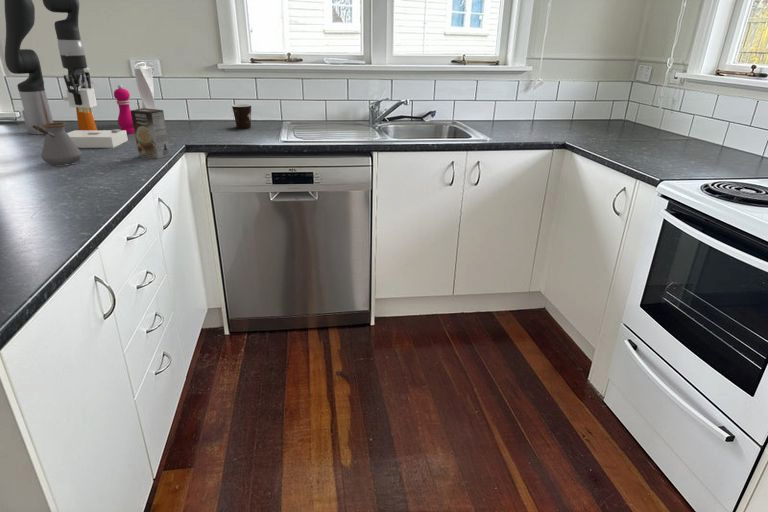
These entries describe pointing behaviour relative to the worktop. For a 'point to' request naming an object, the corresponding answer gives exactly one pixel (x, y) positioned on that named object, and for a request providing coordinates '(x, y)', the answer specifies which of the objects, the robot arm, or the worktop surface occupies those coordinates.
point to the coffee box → (150, 133)
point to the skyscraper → (145, 86)
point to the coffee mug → (242, 115)
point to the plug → (83, 100)
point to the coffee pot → (58, 145)
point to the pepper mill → (124, 110)
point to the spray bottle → (86, 116)
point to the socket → (98, 138)
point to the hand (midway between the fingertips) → (83, 103)
